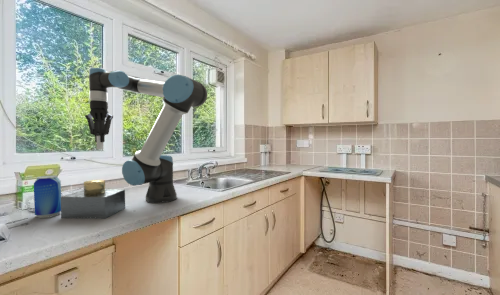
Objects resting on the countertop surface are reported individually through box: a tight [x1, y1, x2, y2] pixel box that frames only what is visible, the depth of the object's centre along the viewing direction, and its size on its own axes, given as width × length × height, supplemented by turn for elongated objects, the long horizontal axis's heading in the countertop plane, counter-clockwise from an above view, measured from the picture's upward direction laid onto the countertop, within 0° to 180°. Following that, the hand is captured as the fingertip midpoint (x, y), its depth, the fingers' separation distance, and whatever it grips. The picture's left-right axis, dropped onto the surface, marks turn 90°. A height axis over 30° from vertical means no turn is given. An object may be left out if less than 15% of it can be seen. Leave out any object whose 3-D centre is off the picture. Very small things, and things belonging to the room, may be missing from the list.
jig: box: [60, 188, 126, 220], centre depth 101 cm, size 18×14×8 cm
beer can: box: [33, 175, 62, 219], centre depth 97 cm, size 8×8×16 cm
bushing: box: [83, 179, 106, 195], centre depth 101 cm, size 8×8×13 cm
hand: (100, 148), depth 117 cm, fingers closed
